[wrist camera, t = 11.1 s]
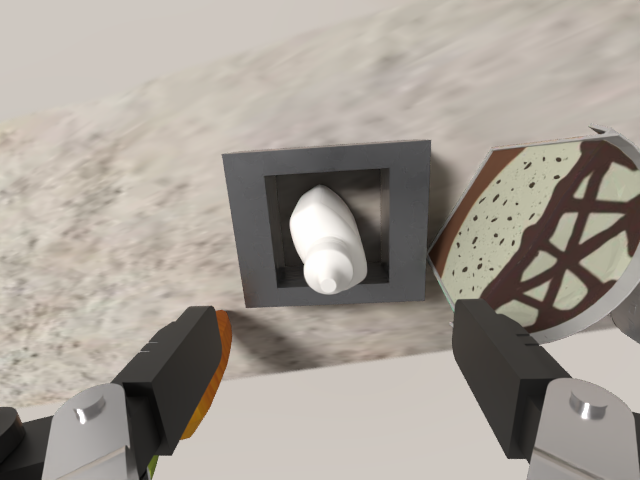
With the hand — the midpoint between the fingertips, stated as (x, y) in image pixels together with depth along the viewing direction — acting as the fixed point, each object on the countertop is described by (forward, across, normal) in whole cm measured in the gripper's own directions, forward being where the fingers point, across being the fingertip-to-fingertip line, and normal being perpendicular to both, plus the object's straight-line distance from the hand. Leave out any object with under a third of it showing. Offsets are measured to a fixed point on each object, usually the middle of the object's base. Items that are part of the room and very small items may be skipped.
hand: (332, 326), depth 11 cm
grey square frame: (+15, 0, 0) cm, 15 cm away
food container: (+16, -12, +1) cm, 20 cm away
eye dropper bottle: (+15, 0, 0) cm, 15 cm away
